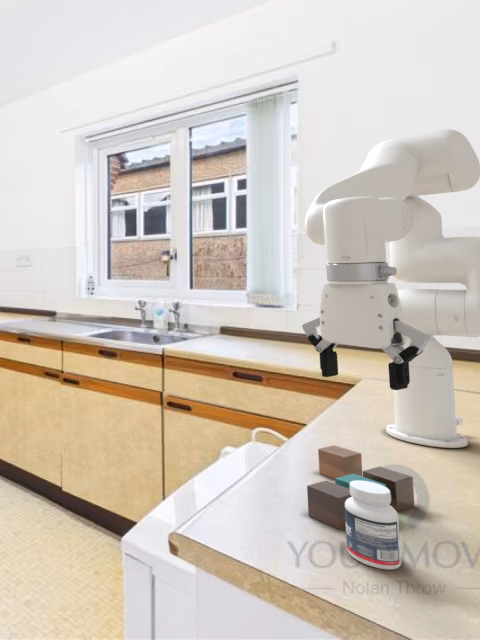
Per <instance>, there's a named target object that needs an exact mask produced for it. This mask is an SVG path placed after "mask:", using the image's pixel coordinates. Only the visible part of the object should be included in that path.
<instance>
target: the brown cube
mask: <svg viewBox="0 0 480 640" xmlns="http://www.w3.org/2000/svg"><path fill="white" fill-rule="evenodd" d="M306 490H307V491H306V492H307V494H306V495H307V511H308V512H307V513H308V517H310V518H313V519H315V520H317V521H320V522H322V523H324V524H326V525H328V526H331V527H333V528H335V529H338V530H339V531H342V530H346V519H345V501H346V500H347V499H348V498H350V497H352V496H351V495H350V489H348V488H345V487H343V486H340V485H337V484H335V482H332V481H329V480H322V481H319V482H315V483H312V484H308V485H306Z"/></svg>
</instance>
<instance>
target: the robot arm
mask: <svg viewBox="0 0 480 640" xmlns="http://www.w3.org/2000/svg"><path fill="white" fill-rule="evenodd" d="M479 180H480V159H479V158H478V156H477V153H476V152H475V150H474V148H473V146H472V144H471V142H470V141H469V139H468V138H467V137H466V136H465V135H464V134H463V133H462V132H460V131H458V130H455V129H450V128H443V129H436V130H430V131H426V132H420V133H413V134H408V135H403V136H397V137H393V138H390V139H386V140H383V141H381V142H379V143H378V144H376V145H374V146H373V147H372V148H371V149H370V151H369V152H368V154H367V155H366V158H365V160H364V162H363V164H362V165H361V168H360V169H359V171H357V172H355V173H353V174H351V175H349V176H346V177H345V178H343V179H340V180H339V181H336V182H335V183H333V184H331V185H328V186H327V187H325V188H324V189H322V190H321V191H320V192H319V193H317V195H316V196H315V198H314V199H313V201H312V202H311V204H310V206H309V208H308V210H307V212H306V215H305V222H304V229H305V234H306V236H307V237H308V239H309V240H310V241H311V242H312V243H314V244H317V245H320V246H324V248H325V264H326V265H325V266H326V282H325V283H323V286H322V290H321V295H320V303H319V304H320V305H319V317H317V318H314V319H312V320H309V321H308V322H305V323H303V324H302V325H301V328H302V329H303V332H304V333H305V335H306V336H307V341H309V343H310V344H311V345H312V346H313V347H314V349H315V351H316V352H317V353H319V369H320V370H321V376H322V377H323V378H331V377H336V376H338V375H339V363H338V361H339V360H338V353H337V351H335V350H334V349H335V348H336V347H337V346H338V345H346V346H352V347H359V348H360V347H361V348H369V349H380V350H382V351H383V352H384V353H385V354H386V355H387V357H389V358H390V362H389V363H388V365H387V366H388V379H389V389H391V390H392V395H393V412H394V414H393V415H394V423H390V424H388V425H386V426H385V432H386V433H387V434H388V435H389V436H391V437H393V438H395V439H398V440H400V441H404V442H406V443H413V444H416V445H422V446H427V447H434V448H445V449H458V448H465V447H467V446H468V445H469V439H468V438H467V437H466V436H464V435H463V434H461V433H458V430H457V426H458V427H459V426H461V425H462V424H463V422H464V421H463V419H462V418H461V417H460V416H457V414H456V400H455V399H456V398H455V384H454V383H455V382H454V367H453V359H452V356H451V354H450V352H449V351H448V350H447V348H446V347H445V346H444V345H443V344H441V342H439V341H438V340H437V339H436V337H434V336H449V337H464V338H465V337H466V338H480V237H479V236H452V237H451V236H450V237H444V235H443V223H442V222H443V218H442V215H441V213H440V212H439V211H438V209H437V208H436V207H434V206H433V205H432V204H430V203H429V202H428V201H427V200H425V199H423V198H422V197H420V196H429V195H430V196H431V195H437V194H438V195H439V194H447V193H457V192H463V191H467V190H471V189H472V188H474V187H475V186H476V185H477V184H478V182H479ZM386 243H389V263H388V262H387V250H386V248H387V247H386ZM389 265H390V266H389ZM390 277H394V278H395V279H396V280H398V281H400V282H405V283H414V284H415V283H416V284H461V285H463V286H465V288H466V289H439V288H409V289H408V288H407V289H405V288H404V289H399V290H397V286H396V284H395V282H388V280H389V279H390ZM318 328H319V330H320V331H319V333H320V334H319V333H318V330H317V329H318Z"/></svg>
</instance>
